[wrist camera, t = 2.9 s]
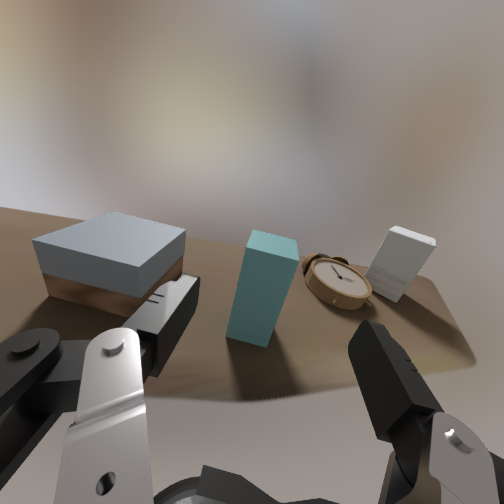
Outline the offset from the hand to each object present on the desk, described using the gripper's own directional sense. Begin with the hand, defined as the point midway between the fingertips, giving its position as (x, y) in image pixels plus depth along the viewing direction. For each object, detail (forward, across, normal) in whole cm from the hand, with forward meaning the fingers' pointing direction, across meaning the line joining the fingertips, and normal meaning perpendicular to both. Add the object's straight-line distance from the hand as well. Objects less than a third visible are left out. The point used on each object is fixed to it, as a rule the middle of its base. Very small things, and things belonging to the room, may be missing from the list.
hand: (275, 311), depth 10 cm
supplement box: (+32, -26, +13) cm, 43 cm away
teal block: (+12, 0, +13) cm, 17 cm away
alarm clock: (+28, -14, +14) cm, 34 cm away
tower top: (+13, +18, +9) cm, 24 cm away
